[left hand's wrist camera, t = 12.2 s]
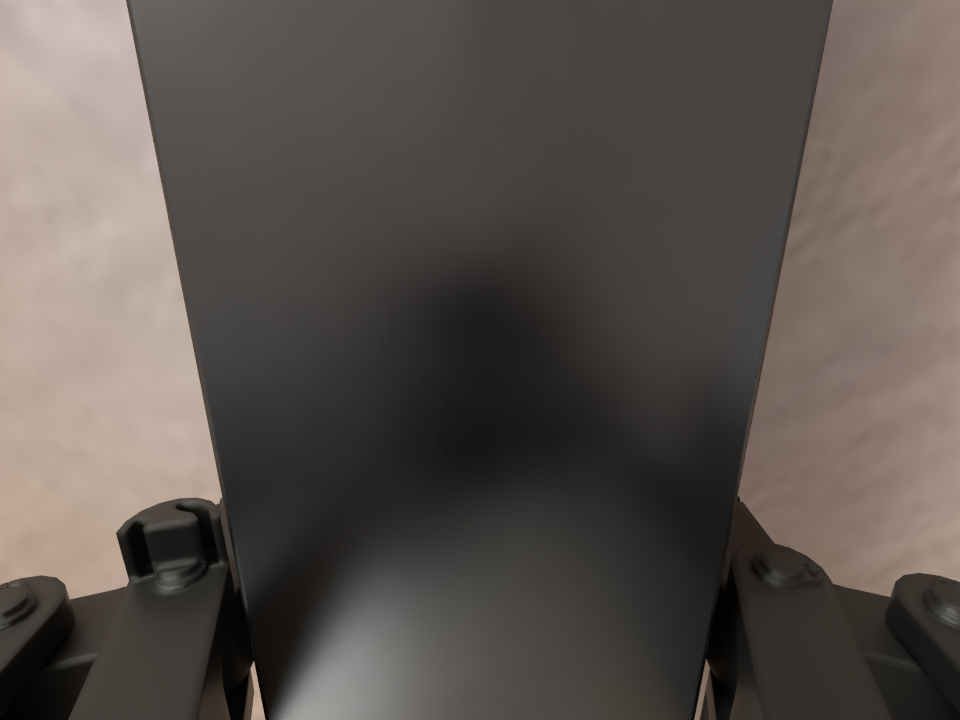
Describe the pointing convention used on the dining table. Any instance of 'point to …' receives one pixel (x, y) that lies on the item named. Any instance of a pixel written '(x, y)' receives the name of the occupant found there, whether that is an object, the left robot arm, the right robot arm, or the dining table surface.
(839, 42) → the dining table surface
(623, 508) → the bar
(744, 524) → the left robot arm
